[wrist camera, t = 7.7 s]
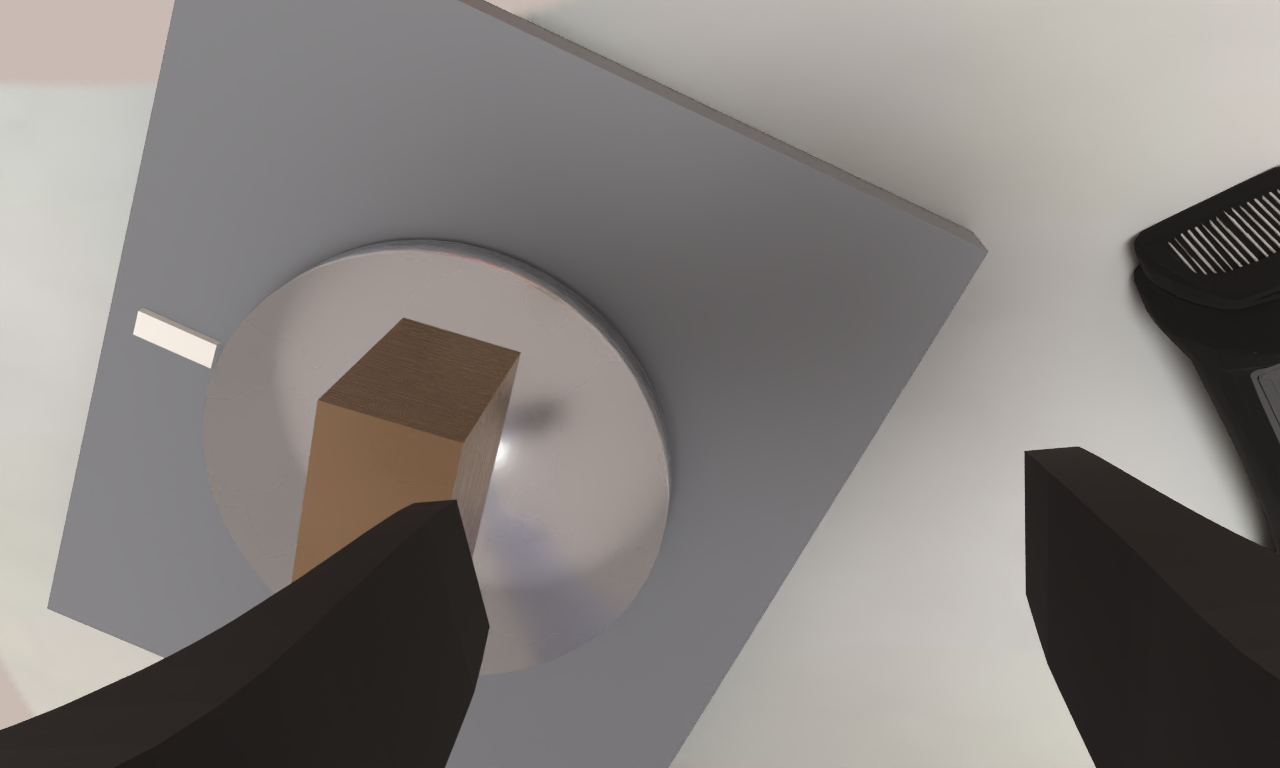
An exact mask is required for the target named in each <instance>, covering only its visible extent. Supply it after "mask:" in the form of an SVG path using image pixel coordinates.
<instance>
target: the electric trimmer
mask: <svg viewBox="0 0 1280 768" xmlns="http://www.w3.org/2000/svg"><path fill="white" fill-rule="evenodd" d="M1134 246H1135V252H1136V255H1137V257H1138V259H1139V261H1140V264H1139V266H1138V267H1137V268H1136V269H1135V271H1134V281H1135V284H1136V286H1137V289H1138V291H1139V293H1140V296H1141V298H1142V301H1143V303H1144V305H1145V308H1146V310H1147V312H1148V313H1149V314H1150V316H1151V317H1152V319H1153V320H1154V321H1155V323H1156V324H1157V325H1158V326H1159V328H1160V329H1161V330H1162V331H1163V332H1164V333H1165V334H1166V335H1167V336H1168V337H1169V338H1170V339H1171V340H1172V341H1173V342H1174V343H1175V344H1176V345H1177V346H1178V347H1179V348H1180V349H1181V350H1182V351H1183V352H1184V353H1185V354H1186V355H1187V356H1188V357H1189V358H1190V359H1191V361H1192V363H1193V364H1194V366H1195V368H1196V370H1197V372H1198V374H1199V376H1200V378H1201V380H1202V382H1203V384H1204V386H1205V388H1206V390H1207V392H1208V394H1209V396H1210V398H1211V400H1212V401H1213V403H1214V405H1215V407H1216V409H1217V411H1218V413H1219V415H1220V417H1221V419H1222V421H1223V423H1224V425H1225V427H1226V429H1227V431H1228V433H1229V435H1230V437H1231V439H1232V441H1233V443H1234V445H1235V447H1236V449H1237V451H1238V454H1239V456H1240V458H1241V460H1242V462H1243V464H1244V467H1245V469H1246V471H1247V473H1248V475H1249V477H1250V480H1251V482H1252V484H1253V486H1254V489H1255V491H1256V493H1257V496H1258V498H1259V500H1260V503H1261V506H1262V509H1263V512H1264V515H1265V518H1266V521H1267V523H1268V526H1269V529H1270V532H1271V535H1272V538H1273V541H1274V544H1275V547H1276V550H1277V552H1276V553H1277V554H1279V555H1280V167H1278V168H1274V169H1272V170H1269V171H1267V172H1265V173H1263V174H1260V175H1258V176H1256V177H1253V178H1251V179H1249V180H1247V181H1245V182H1243V183H1241V184H1238V185H1236V186H1234V187H1232V188H1230V189H1228V190H1226V191H1224V192H1222V193H1220V194H1217V195H1215V196H1213V197H1211V198H1209V199H1207V200H1205V201H1203V202H1201V203H1199V204H1197V205H1194V206H1192V207H1190V208H1188V209H1186V210H1184V211H1182V212H1180V213H1178V214H1176V215H1174V216H1172V217H1169V218H1167V219H1165V220H1163V221H1161V222H1159V223H1157V224H1156V225H1154V226H1152V227H1150V228H1148V229H1146V230H1144V231H1142V232H1141V233H1140V234H1139V236H1138V237H1137V239H1136V240H1135V241H1134Z"/></svg>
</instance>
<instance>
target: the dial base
mask: <svg viewBox="0 0 1280 768" xmlns="http://www.w3.org/2000/svg"><path fill="white" fill-rule="evenodd" d="M397 240H436V241H447V242H457V243H462V244H466V245H471V246H475V247H480V248H484V249H488V250H492V251H495V252H497V253H500V254H503V255H505V256H508V257H511V258H514V259H516V260H519V261H522V262H524V263H526V264H528V265H530V266H532V267H533V268H535V269H537V270H539V271H541V272H543V273H545V274H547V275H549V276H551V277H553V278H554V279H555V280H557V281H558V282H560V283H561V284H563V285H564V286H566V287H567V288H569V289H570V290H572V291H573V292H575V293H576V294H578V295H579V296H580V297H581V298H582V299H584V300H585V301H586V302H587V303H588V304H589V305H590V306H592V307H593V308H594V309H595V310H596V311H597V312H598V313H600V314H601V315H602V316H603V317H604V318H605V319H606V320H607V322H608V323H609V324H610V325H611V326H612V327H613V328H614V329H615V331H616V332H617V333H618V334H619V335H620V336H621V337H622V338H623V339H624V341H625V342H626V344H627V345H628V347H629V348H630V349H631V351H632V352H633V354H634V355H635V357H636V358H637V360H638V361H639V363H640V364H641V365H642V367H643V369H644V371H645V373H646V375H647V377H648V379H649V381H650V383H651V385H652V387H653V389H654V391H655V393H656V396H657V399H658V401H659V404H660V407H661V410H662V413H663V416H664V418H665V422H666V427H667V432H668V437H669V442H670V447H671V463H672V483H671V493H670V503H669V509H668V515H667V520H666V526H665V530H664V534H663V538H662V542H661V546H660V550H659V553H658V555H657V558H656V560H655V563H654V565H653V567H652V570H651V572H650V574H649V576H648V578H647V580H646V581H645V583H644V585H643V586H642V588H641V589H640V591H639V593H638V594H637V596H636V598H635V599H634V600H633V601H632V602H631V604H630V605H629V606H628V607H627V608H626V609H625V611H624V612H623V613H622V614H621V615H620V617H619V618H617V619H616V620H615V621H614V622H613V623H612V624H611V625H609V626H608V627H607V628H606V629H605V630H604V631H603V632H602V633H600V634H599V635H598V636H596V637H595V638H593V639H592V640H590V641H588V642H587V643H585V644H584V645H582V646H581V647H579V648H578V649H576V650H574V651H571V652H569V653H567V654H565V655H563V656H561V657H559V658H557V659H555V660H552V661H549V662H546V663H543V664H540V665H537V666H534V667H531V668H526V669H521V670H516V671H511V672H506V673H499V674H487V675H479V676H478V680H477V684H476V688H475V692H474V695H473V697H472V700H471V703H470V705H469V708H468V711H467V713H466V716H465V718H464V721H463V724H462V726H461V729H460V731H459V734H458V736H457V739H456V741H455V744H454V746H453V749H452V751H451V754H450V756H449V759H448V761H447V764H446V766H445V768H668V767H669V766H670V764H671V763H672V761H673V759H674V758H675V756H676V755H677V753H678V751H679V750H680V748H681V746H682V745H683V743H684V742H685V740H686V738H687V737H688V735H689V734H690V732H691V730H692V729H693V727H694V726H695V724H696V722H697V721H698V719H699V717H700V716H701V714H702V713H703V711H704V709H705V708H706V706H707V705H708V703H709V701H710V700H711V698H712V696H713V695H714V693H715V692H716V690H717V688H718V687H719V685H720V684H721V682H722V680H723V679H724V677H725V675H726V674H727V672H728V671H729V669H730V667H731V666H732V664H733V663H734V661H735V659H736V658H737V656H738V654H739V653H740V651H741V650H742V648H743V646H744V645H745V643H746V642H747V640H748V638H749V637H750V635H751V634H752V632H753V630H754V629H755V627H756V625H757V624H758V622H759V621H760V619H761V617H762V616H763V614H764V613H765V611H766V609H767V608H768V606H769V604H770V603H771V601H772V600H773V598H774V596H775V595H776V593H777V592H778V590H779V588H780V587H781V585H782V583H783V582H784V580H785V579H786V577H787V575H788V574H789V572H790V571H791V569H792V567H793V566H794V564H795V563H796V561H797V559H798V558H799V556H800V554H801V553H802V551H803V550H804V548H805V546H806V545H807V543H808V542H809V540H810V538H811V537H812V535H813V533H814V532H815V530H816V529H817V527H818V525H819V524H820V522H821V521H822V519H823V517H824V516H825V514H826V512H827V511H828V509H829V508H830V506H831V504H832V503H833V501H834V500H835V498H836V496H837V495H838V493H839V492H840V490H841V488H842V487H843V485H844V483H845V482H846V480H847V479H848V477H849V475H850V474H851V472H852V471H853V469H854V467H855V466H856V464H857V462H858V461H859V459H860V458H861V456H862V454H863V453H864V451H865V450H866V448H867V446H868V445H869V443H870V441H871V440H872V438H873V437H874V435H875V433H876V432H877V430H878V429H879V427H880V425H881V424H882V422H883V421H884V419H885V417H886V416H887V414H888V412H889V411H890V409H891V408H892V406H893V404H894V403H895V401H896V400H897V398H898V396H899V395H900V393H901V391H902V390H903V388H904V387H905V385H906V383H907V382H908V380H909V379H910V377H911V375H912V374H913V372H914V370H915V369H916V367H917V366H918V364H919V362H920V361H921V359H922V358H923V356H924V354H925V353H926V351H927V350H928V348H929V346H930V345H931V343H932V341H933V340H934V338H935V337H936V335H937V333H938V332H939V330H940V329H941V327H942V325H943V324H944V322H945V320H946V319H947V317H948V316H949V314H950V312H951V311H952V309H953V308H954V306H955V304H956V303H957V301H958V299H959V298H960V296H961V295H962V293H963V291H964V290H965V288H966V287H967V285H968V283H969V282H970V280H971V278H972V277H973V275H974V274H975V272H976V270H977V269H978V267H979V266H980V264H981V262H982V261H983V259H984V258H985V256H986V254H987V253H988V250H987V249H986V248H985V247H984V245H983V244H982V243H981V242H980V241H979V239H978V238H977V237H976V236H975V234H974V233H973V232H971V231H969V230H967V229H965V228H963V227H961V226H959V225H957V224H954V223H952V222H950V221H948V220H946V219H944V218H942V217H940V216H938V215H936V214H933V213H931V212H929V211H927V210H925V209H923V208H921V207H919V206H917V205H914V204H912V203H910V202H908V201H906V200H904V199H902V198H900V197H898V196H895V195H893V194H891V193H889V192H887V191H885V190H883V189H881V188H879V187H876V186H874V185H872V184H870V183H868V182H866V181H864V180H862V179H860V178H857V177H855V176H853V175H851V174H849V173H847V172H845V171H843V170H841V169H839V168H836V167H834V166H832V165H830V164H828V163H826V162H824V161H822V160H820V159H817V158H815V157H813V156H811V155H809V154H807V153H805V152H803V151H801V150H798V149H796V148H794V147H792V146H790V145H788V144H786V143H784V142H782V141H779V140H777V139H775V138H773V137H771V136H769V135H767V134H765V133H763V132H761V131H758V130H756V129H754V128H752V127H750V126H748V125H746V124H744V123H742V122H739V121H737V120H735V119H733V118H731V117H729V116H727V115H725V114H723V113H720V112H718V111H716V110H714V109H712V108H710V107H708V106H706V105H704V104H701V103H699V102H697V101H695V100H693V99H691V98H689V97H687V96H685V95H682V94H680V93H678V92H676V91H674V90H672V89H670V88H668V87H666V86H664V85H661V84H659V83H657V82H655V81H653V80H651V79H649V78H647V77H645V76H642V75H640V74H638V73H636V72H634V71H632V70H630V69H628V68H626V67H623V66H621V65H619V64H617V63H615V62H613V61H611V60H609V59H607V58H604V57H602V56H600V55H598V54H596V53H594V52H592V51H590V50H588V49H585V48H583V47H581V46H579V45H577V44H575V43H573V42H571V41H569V40H567V39H564V38H562V37H560V36H558V35H556V34H554V33H552V32H550V31H548V30H545V29H543V28H541V27H539V26H537V25H535V24H533V23H531V22H529V21H526V20H524V19H522V18H520V17H518V16H516V15H514V14H512V13H510V12H507V11H505V10H503V9H501V8H499V7H497V6H495V5H493V4H491V3H488V2H486V1H484V0H175V3H174V8H173V13H172V18H171V22H170V27H169V32H168V36H167V41H166V46H165V51H164V55H163V60H162V65H161V70H160V75H159V79H158V84H157V89H156V94H155V98H154V103H153V108H152V113H151V117H150V122H149V127H148V132H147V136H146V141H145V146H144V151H143V155H142V160H141V165H140V170H139V174H138V179H137V184H136V189H135V193H134V198H133V203H132V208H131V212H130V217H129V222H128V227H127V231H126V236H125V241H124V246H123V250H122V255H121V260H120V265H119V269H118V274H117V279H116V284H115V289H114V293H113V298H112V303H111V308H110V312H109V317H108V322H107V327H106V331H105V336H104V341H103V346H102V350H101V355H100V360H99V365H98V369H97V374H96V379H95V384H94V388H93V393H92V398H91V403H90V407H89V412H88V417H87V422H86V426H85V431H84V436H83V441H82V445H81V450H80V455H79V460H78V464H77V469H76V474H75V479H74V483H73V488H72V493H71V498H70V502H69V507H68V512H67V517H66V522H65V526H64V531H63V536H62V541H61V545H60V550H59V555H58V560H57V564H56V569H55V574H54V579H53V583H52V588H51V593H50V598H49V602H48V607H47V609H50V610H52V611H54V612H57V613H59V614H62V615H64V616H66V617H69V618H71V619H73V620H76V621H78V622H81V623H83V624H85V625H88V626H90V627H93V628H95V629H97V630H100V631H102V632H105V633H107V634H109V635H112V636H114V637H116V638H119V639H121V640H124V641H126V642H128V643H131V644H133V645H136V646H138V647H140V648H143V649H145V650H147V651H150V652H152V653H155V654H157V655H159V656H162V657H164V658H166V657H168V656H170V655H172V654H174V653H176V652H178V651H179V650H181V649H183V648H185V647H187V646H189V645H191V644H193V643H194V642H196V641H198V640H200V639H202V638H203V637H205V636H207V635H209V634H211V633H212V632H214V631H216V630H218V629H219V628H221V627H223V626H224V625H226V624H228V623H229V622H231V621H233V620H234V619H236V618H238V617H239V616H241V615H242V614H244V613H245V612H247V611H249V610H250V609H252V608H253V607H255V606H256V605H258V604H259V603H261V602H263V601H264V600H266V599H267V598H269V597H270V596H272V595H274V594H275V593H273V592H272V590H271V589H270V588H269V587H268V586H267V585H266V584H265V583H264V581H263V580H262V579H261V578H260V577H259V576H258V575H257V574H256V572H255V571H254V570H253V569H252V567H251V566H250V564H249V563H248V562H247V560H246V559H245V557H244V556H243V555H242V553H241V552H240V550H239V549H238V548H237V546H236V544H235V542H234V540H233V539H232V537H231V535H230V533H229V531H228V530H227V528H226V526H225V524H224V522H223V520H222V517H221V515H220V512H219V510H218V507H217V505H216V502H215V500H214V497H213V494H212V490H211V486H210V482H209V479H208V475H207V471H206V464H205V456H204V448H203V416H204V410H205V404H206V398H207V391H208V388H209V385H210V382H211V379H212V376H213V373H214V369H215V366H216V364H217V362H218V360H219V358H220V356H221V354H222V352H223V350H224V348H225V346H226V344H227V343H228V341H229V339H230V338H231V336H232V335H233V334H234V332H235V331H236V330H237V328H238V327H239V326H240V324H241V323H242V322H243V320H244V319H245V318H246V317H247V316H248V315H249V314H250V313H251V312H252V311H253V310H254V309H255V308H256V307H257V306H258V305H259V304H260V303H261V302H262V301H263V300H264V299H265V298H267V297H268V296H270V295H271V294H272V293H274V292H275V291H277V290H278V289H280V288H281V287H282V286H284V285H285V284H287V283H288V282H290V281H291V280H293V279H294V278H296V277H297V276H299V275H300V274H302V273H303V272H305V271H306V270H308V269H309V268H311V267H313V266H315V265H317V264H319V263H321V262H323V261H325V260H327V259H329V258H331V257H333V256H335V255H338V254H341V253H344V252H347V251H350V250H353V249H356V248H359V247H362V246H366V245H372V244H378V243H384V242H390V241H397Z"/></svg>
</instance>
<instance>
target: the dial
mask: <svg viewBox="0 0 1280 768" xmlns="http://www.w3.org/2000/svg"><path fill="white" fill-rule="evenodd" d="M203 448H204V456H205V464H206V471H207V475H208V479H209V482H210V486H211V490H212V494H213V497H214V500H215V502H216V505H217V507H218V510H219V512H220V515H221V517H222V520H223V522H224V524H225V526H226V528H227V530H228V531H229V533H230V535H231V537H232V539H233V540H234V542H235V544H236V546H237V548H238V549H239V550H240V552H241V553H242V555H243V556H244V557H245V559H246V560H247V562H248V563H249V564H250V566H251V567H252V569H253V570H254V571H255V572H256V574H257V575H258V576H259V577H260V578H261V579H262V580H263V581H264V583H265V584H266V585H267V586H268V587H269V588H270V589H271V590H272V592H273V593H277V592H278V591H280V590H281V589H283V588H284V587H286V586H288V585H289V584H291V583H292V582H294V581H295V580H297V579H298V578H300V577H301V576H303V575H304V574H306V573H307V572H309V571H310V570H312V569H313V568H314V567H316V566H317V565H319V564H320V563H322V562H323V561H325V560H326V559H328V558H329V557H330V556H332V555H333V554H335V553H336V552H338V551H339V550H341V549H342V548H343V547H345V546H346V545H348V544H349V543H351V542H352V541H354V540H355V539H356V538H358V537H359V536H361V535H362V534H364V533H365V532H367V531H368V530H370V529H371V528H373V527H374V526H375V525H377V524H378V523H380V522H382V521H383V520H385V519H386V518H388V517H389V516H391V515H393V514H394V513H396V512H397V511H399V510H401V509H403V508H405V507H407V506H409V505H411V504H413V503H419V502H431V501H443V500H455V499H457V503H458V507H459V511H460V515H461V518H462V522H463V526H464V530H465V534H466V538H467V541H468V545H469V549H470V553H471V557H472V560H473V564H474V568H475V572H476V576H477V579H478V583H479V587H480V591H481V595H482V599H483V602H484V606H485V610H486V614H487V618H488V621H489V625H490V628H489V633H488V637H487V642H486V646H485V651H484V656H483V660H482V664H481V668H480V672H479V675H487V674H499V673H506V672H511V671H516V670H521V669H526V668H531V667H534V666H537V665H540V664H543V663H546V662H549V661H552V660H555V659H557V658H559V657H561V656H563V655H565V654H567V653H569V652H571V651H574V650H576V649H578V648H579V647H581V646H582V645H584V644H585V643H587V642H588V641H590V640H592V639H593V638H595V637H596V636H598V635H599V634H600V633H602V632H603V631H604V630H605V629H606V628H607V627H608V626H609V625H611V624H612V623H613V622H614V621H615V620H616V619H617V618H619V617H620V615H621V614H622V613H623V612H624V611H625V609H626V608H627V607H628V606H629V605H630V604H631V602H632V601H633V600H634V599H635V598H636V596H637V594H638V593H639V591H640V589H641V588H642V586H643V585H644V583H645V581H646V580H647V578H648V576H649V574H650V572H651V570H652V567H653V565H654V563H655V560H656V558H657V555H658V553H659V550H660V546H661V542H662V538H663V534H664V530H665V526H666V520H667V515H668V509H669V503H670V493H671V483H672V463H671V447H670V442H669V437H668V432H667V427H666V422H665V418H664V416H663V413H662V410H661V407H660V404H659V401H658V399H657V396H656V393H655V391H654V389H653V387H652V385H651V383H650V381H649V379H648V377H647V375H646V373H645V371H644V369H643V367H642V365H641V364H640V363H639V361H638V360H637V358H636V357H635V355H634V354H633V352H632V351H631V349H630V348H629V347H628V345H627V344H626V342H625V341H624V339H623V338H622V337H621V336H620V335H619V334H618V333H617V332H616V331H615V329H614V328H613V327H612V326H611V325H610V324H609V323H608V322H607V320H606V319H605V318H604V317H603V316H602V315H601V314H600V313H598V312H597V311H596V310H595V309H594V308H593V307H592V306H590V305H589V304H588V303H587V302H586V301H585V300H584V299H582V298H581V297H580V296H579V295H578V294H576V293H575V292H573V291H572V290H570V289H569V288H567V287H566V286H564V285H563V284H561V283H560V282H558V281H557V280H555V279H554V278H553V277H551V276H549V275H547V274H545V273H543V272H541V271H539V270H537V269H535V268H533V267H532V266H530V265H528V264H526V263H524V262H522V261H519V260H516V259H514V258H511V257H508V256H505V255H503V254H500V253H497V252H495V251H492V250H488V249H484V248H480V247H475V246H471V245H466V244H462V243H457V242H447V241H436V240H397V241H390V242H384V243H378V244H372V245H366V246H362V247H359V248H356V249H353V250H350V251H347V252H344V253H341V254H338V255H335V256H333V257H331V258H329V259H327V260H325V261H323V262H321V263H319V264H317V265H315V266H313V267H311V268H309V269H308V270H306V271H305V272H303V273H302V274H300V275H299V276H297V277H296V278H294V279H293V280H291V281H290V282H288V283H287V284H285V285H284V286H282V287H281V288H280V289H278V290H277V291H275V292H274V293H272V294H271V295H270V296H268V297H267V298H265V299H264V300H263V301H262V302H261V303H260V304H259V305H258V306H257V307H256V308H255V309H254V310H253V311H252V312H251V313H250V314H249V315H248V316H247V317H246V318H245V319H244V320H243V322H242V323H241V324H240V326H239V327H238V328H237V330H236V331H235V332H234V334H233V335H232V336H231V338H230V339H229V341H228V343H227V344H226V346H225V348H224V350H223V352H222V354H221V356H220V358H219V360H218V362H217V364H216V366H215V369H214V373H213V376H212V379H211V382H210V385H209V388H208V391H207V398H206V404H205V410H204V416H203Z"/></svg>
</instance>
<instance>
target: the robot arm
mask: <svg viewBox="0 0 1280 768" xmlns="http://www.w3.org/2000/svg"><path fill="white" fill-rule="evenodd" d="M1025 555H1026V596H1027V599H1028V602H1029V606H1030V609H1031V612H1032V616H1033V619H1034V622H1035V626H1036V629H1037V633H1038V636H1039V639H1040V642H1041V645H1042V648H1043V651H1044V654H1045V657H1046V660H1047V664H1048V666H1049V668H1050V670H1051V672H1052V675H1053V677H1054V679H1055V681H1056V683H1057V686H1058V688H1059V690H1060V692H1061V694H1062V696H1063V699H1064V701H1065V703H1066V705H1067V707H1068V709H1069V711H1070V714H1071V716H1072V718H1073V720H1074V722H1075V724H1076V726H1077V728H1078V731H1079V733H1080V735H1081V737H1082V739H1083V741H1084V743H1085V745H1086V747H1087V749H1088V752H1089V754H1090V756H1091V758H1092V760H1093V762H1094V764H1095V766H1096V768H1280V555H1279V554H1277V553H1275V552H1273V551H1271V550H1269V549H1267V548H1265V547H1263V546H1261V545H1259V544H1257V543H1255V542H1253V541H1250V540H1248V539H1246V538H1244V537H1242V536H1240V535H1238V534H1236V533H1234V532H1232V531H1230V530H1228V529H1226V528H1224V527H1222V526H1220V525H1219V524H1217V523H1215V522H1213V521H1211V520H1209V519H1207V518H1205V517H1203V516H1202V515H1200V514H1198V513H1196V512H1194V511H1192V510H1191V509H1189V508H1187V507H1185V506H1183V505H1182V504H1180V503H1178V502H1176V501H1174V500H1173V499H1171V498H1169V497H1167V496H1166V495H1164V494H1162V493H1160V492H1159V491H1157V490H1155V489H1153V488H1152V487H1150V486H1148V485H1146V484H1145V483H1143V482H1141V481H1140V480H1138V479H1136V478H1135V477H1133V476H1131V475H1129V474H1128V473H1126V472H1124V471H1123V470H1121V469H1119V468H1117V467H1116V466H1114V465H1112V464H1110V463H1109V462H1107V461H1105V460H1104V459H1102V458H1100V457H1098V456H1096V455H1094V454H1093V453H1091V452H1089V451H1087V450H1085V449H1083V448H1080V447H1067V448H1055V449H1043V450H1032V451H1025ZM489 628H490V625H489V621H488V618H487V614H486V610H485V606H484V602H483V599H482V595H481V591H480V587H479V583H478V579H477V576H476V572H475V568H474V564H473V560H472V557H471V553H470V549H469V545H468V541H467V538H466V534H465V530H464V526H463V522H462V518H461V515H460V511H459V507H458V503H457V499H455V500H443V501H431V502H419V503H413V504H411V505H409V506H407V507H405V508H403V509H401V510H399V511H397V512H396V513H394V514H393V515H391V516H389V517H388V518H386V519H385V520H383V521H382V522H380V523H378V524H377V525H375V526H374V527H373V528H371V529H370V530H368V531H367V532H365V533H364V534H362V535H361V536H359V537H358V538H356V539H355V540H354V541H352V542H351V543H349V544H348V545H346V546H345V547H343V548H342V549H341V550H339V551H338V552H336V553H335V554H333V555H332V556H330V557H329V558H328V559H326V560H325V561H323V562H322V563H320V564H319V565H317V566H316V567H314V568H313V569H312V570H310V571H309V572H307V573H306V574H304V575H303V576H301V577H300V578H298V579H297V580H295V581H294V582H292V583H291V584H289V585H288V586H286V587H284V588H283V589H281V590H280V591H278V592H277V593H275V594H274V595H272V596H270V597H269V598H267V599H266V600H264V601H263V602H261V603H259V604H258V605H256V606H255V607H253V608H252V609H250V610H249V611H247V612H245V613H244V614H242V615H241V616H239V617H238V618H236V619H234V620H233V621H231V622H229V623H228V624H226V625H224V626H223V627H221V628H219V629H218V630H216V631H214V632H212V633H211V634H209V635H207V636H205V637H203V638H202V639H200V640H198V641H196V642H194V643H193V644H191V645H189V646H187V647H185V648H183V649H181V650H179V651H178V652H176V653H174V654H172V655H170V656H168V657H166V658H164V659H162V660H161V661H159V662H157V663H155V664H153V665H151V666H149V667H147V668H145V669H143V670H140V671H138V672H136V673H134V674H132V675H130V676H127V677H125V678H123V679H121V680H119V681H116V682H114V683H112V684H110V685H108V686H105V687H103V688H101V689H99V690H97V691H94V692H92V693H90V694H88V695H86V696H83V697H81V698H79V699H77V700H75V701H72V702H70V703H68V704H66V705H63V706H61V707H58V708H56V709H54V710H51V711H49V712H46V713H44V714H41V715H38V716H36V717H33V718H31V719H29V720H26V721H23V722H21V723H18V724H16V725H13V726H10V727H8V728H5V729H2V730H0V768H445V766H446V764H447V761H448V759H449V756H450V754H451V751H452V749H453V746H454V744H455V741H456V739H457V736H458V734H459V731H460V729H461V726H462V724H463V721H464V718H465V716H466V713H467V711H468V708H469V705H470V703H471V700H472V697H473V695H474V692H475V688H476V684H477V680H478V676H479V672H480V668H481V664H482V660H483V656H484V651H485V646H486V642H487V637H488V633H489Z"/></svg>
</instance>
